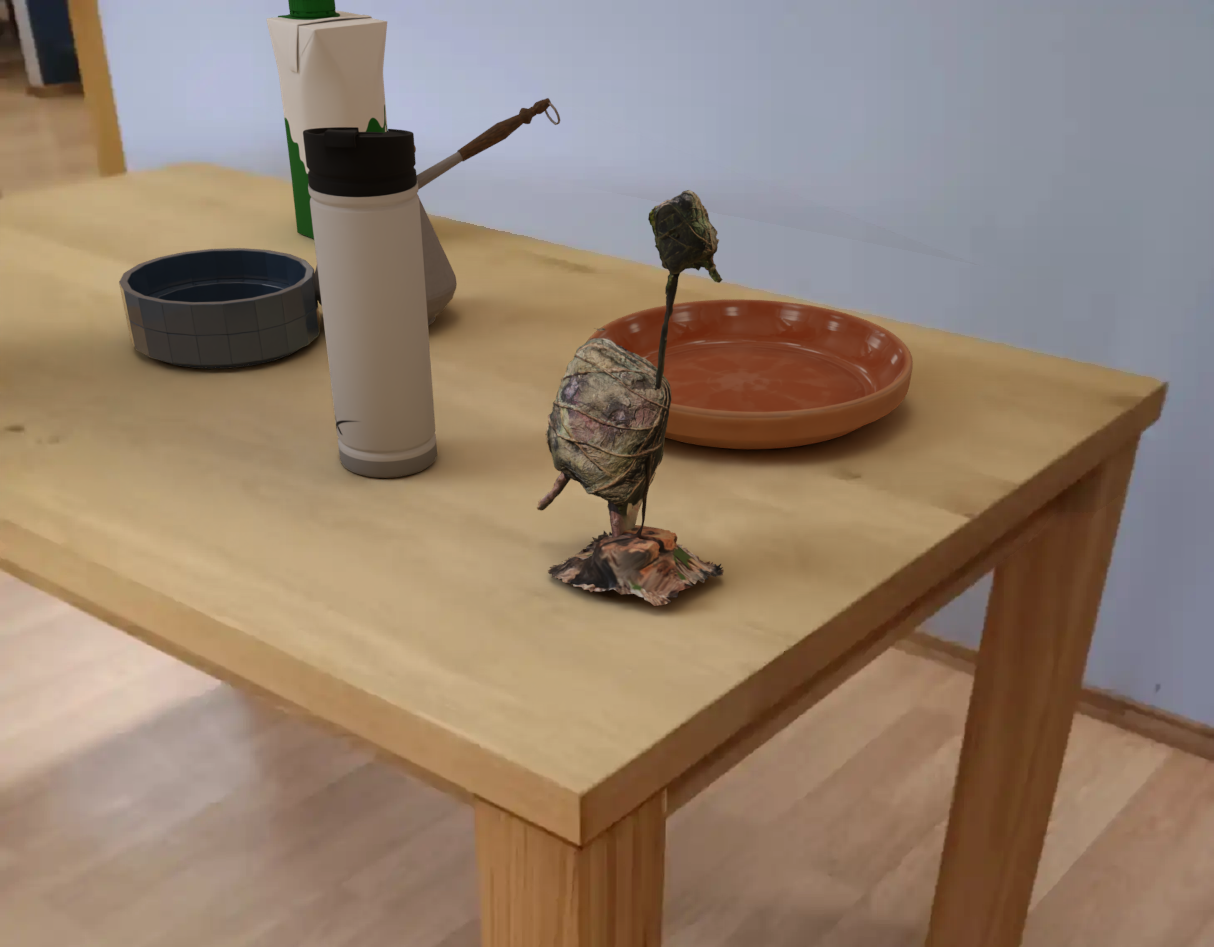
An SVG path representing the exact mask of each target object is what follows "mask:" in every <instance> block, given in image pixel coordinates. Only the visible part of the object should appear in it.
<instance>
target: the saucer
mask: <svg viewBox="0 0 1214 947" xmlns="http://www.w3.org/2000/svg"><path fill="white" fill-rule="evenodd" d="M665 313H666V304H664V305H659V306H655V307H650V308H645V309H642V310H639V311H635V312H632V313H629V314H627V315H623V316H621V317H619V318H618V317H617V318H616V319H614V320H612V321H610V322H607V323H606V324H604V325H602V326H601V327H600V328H599V329H601V328H604V329H605V330H603V331H599V330H597V329H596V330H595V331H594V332H593V333H592V334H591V335H590V336H589V337H588V339H587V340H586V342H588V341H589V339H591V338H593V339H594V338H605V339H609V340H611V341H613V342H614V343H616V345H620V346H622V347H624V348H625V349H626V350H628V351H629V352H633V353H635V354H637V355H639V356H640V357H643V358H645V359H647V360H648V361H649V362H651V363H652V364H653V365H654V366H656V368H658V352H659V344H660V337H661V330H662V325H663V323H664V317H665ZM913 364H914V363H913V356H912V353H911V350H910V349H909V347H908V346H907V344H905V342H903V340H901V338H899V337H898V336H897V334H894V333H893V332H891V331H890V330H888V329H886V328H885V327H883V326H881V325H878V324H877V323H874V322H872V321H870V320H867V319H864V318H861V317H859V316H857V315H852V314H849V313H847V312H842V311H838V310H835V309H830V308H826V307H821V306H815V305H811V304H802V303H797V302H789V301H779V300H767V299H739V298H738V299H737V298H736V299H735V298H734V299H732V298H731V299H729V298H728V299H726V298H725V299H707V300H706V299H705V300H694V301H685V302H677V303H674V304H673V313H672V315H671V317H670V319H669V322H668V334H667V345H666V351H665V364H664V373H663V374H664V377H666V379H667V380H668V382H669V384H670V389H671V398H672V400H671V405H670V408H669V417H668V422H667V429H666V433H665V439H669V440H672V441H676V442H681V443H684V444H689V445H695V446H703V447H709V448H710V447H711V448H718V449H732V450H733V449H734V450H770V449H785V448H786V449H787V448H795V447H802V446H807V445H813V444H818V443H822V442H826V441H829V440H833V439H837V438H840V437H843V436H845V435H847V434H850V433H852V432H854V431H857V430H858V429H860V428H862V427H863V426H866V425H868V424H871V423H875V422H876V421H877V420H880V419H882V418H884V417H886V416H887V415H889V414H890V413H892V412H893V411H894V410H895V409H897V408H898V407H899V406H900V405H901V403H902V402H903V401H904V400H905V399H906V396H908V392H909V389H910V383H911V378H912V372H913Z"/></svg>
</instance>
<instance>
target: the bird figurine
mask: <svg viewBox="0 0 1214 947" xmlns="http://www.w3.org/2000/svg"><path fill="white" fill-rule="evenodd" d="M647 220H648V221H649V225H650V226H651V229H652V233H653V235H654V243H655V246H654V247H655V248H656V250H657V251H658V255H659V259H660V261H661V267H662V268H663V269H665V270H667V271H669V274H668V275H667V282H666V285H665V290H664V292H665V293H664V294H665V305H666V313H665V317H664V323H663V325H662V330H661V337H660V344H659V352H658V368H656V366H654V365H653V364H652V363H651V362H649V361H648V360H647V359H645V358H643V357H640V356H639V355H637V354H635V353H633V352H629V351H628V350H626V349H625V348H624V347H622V346H620V345H616V343H614V342H613V341H611V340H609V339H605V338H594V339H593V338H591V339H589V338H588V339H589V341H588V342H587V341H586V342H585V343H584V344H582V345H581V346H578V348H576V351H575V353H574V355H573V358H572V360H571V361H568V364H567V366H566V370H565V373H564V376H562V377H561V379H560V385H559V387H558V390H557V393H556V397H555V400H554V401H553V402H552V410H551V412H550V413H549V414H547V428H546V431H545V436H546V445H547V446H548V450H549V453H550V454H551V459H552V463H553V467H554V468H555V469H556V470H557V471H558V472H560V474H559V475H558V476H557V478H556V479H555V482H554V483H553V488H551V490H550V491H548V492H547V493H546V494H545V495H543V496H542V498H541V499H540V500H538V501H537V502H538V504H537V506H536V509H537V510H538V511H544V510H546V509H547V508H548V507H549V506H550V505H551V504H552V503H553V502H554V501H555V499H556V498H557V497H558V496H559V495H560V494H561V493H563V491H564V489H565V487H566V486H567V485H568V484H569V482H570V481H571V480H573V481H575V482H577V483H579V484H580V486H582V488H583V489H584V490H585V492H586V494H587V495H593V496H595V497H598V498H601V499H602V500H604V501H607V509H608V515H609V523H610V527H611V531H609V532H608V533H607V532H606V531H605V530H603V533H602V534H599V535H597V538H596V537H593V536H592V537H591V538H592V540H593V541H592V540H591V541H590V543H589V544H587V546H586V548H582V549H581V550H580V552H579V551H578V552H577V553H575V554H573V555H572V556H569V557H567V559H564V561H561V564H552V566H549V569H547V573H548V574H549V575H551V578H554V579H557V580H562V583H566V584H569V585H572V586H573V587H577V588H578V587H579V588H582V589H583V591H589V592H590V593H593V591H594V592H600V593H601V592H606V591H611V590H614V591H616V592H617V593H618V594H620V595H633V594H634V595H635V596H637V597H639V598H643V599H644V601H646V602H648V603H650V604H651V605H653V606H654V607H655V606H663V605H667V604H670V603H672V600H670V599H669V598H678V597H679V592H680V591H684V590H687V589H690V588H691V587H694V585H696V584H697V583H698V581H699V582H701V583H703V584H705V580H709V577H710V578H712V577H714V578H717V577H723V576H724V571H725V570H724V567H723V566H721V565H722V563H720V564H718V565H717V564H716V563H714V561H712V562H711V561H710V560H709V561H704V560H701V559H700V557H699V556H698V555H696V554H694V553H693V552H691V551H690V550H688V547H683V544H678V543H677V541H678V535H677V533H676V532H671V530H668V529H664V528H658V527H653V526H646V525H645V521H646V520H645V519H646V510H647V502H648V501H647V500H648V492H649V488H650V486H651V484H652V483H653V481H654V479H655V476H656V470H657V469H658V467H659V466H660V464H661V463H662V461H663V458H664V446H665V440H666V438H665V433H666V429H667V422H668V417H669V408H670V405H671V400H672V398H671V389H670V384H669V382H668V380H667V379H666V377H664V374H663V373H664V364H665V351H666V345H667V334H668V322H669V319H670V317H671V315H672V313H673V304H675V300H676V296H677V291H678V286H679V277H680V274H681V273H683V272H684V271H685V270H689V269H695V270H696V271H698V272H699V271H700V270H701V268H704V269H705V270H706V271H707V272H708V275H709V277H710V278H711V279H712V280H713V282H714V283H719V284H720V283H721V282H722V281H723V278H722V277H721V275H720V273H719V272H718V270H717V268H716V267H717V265H716V263H715V261H714V255H715V254H716V253H717V252H718V247H719V246H718V244H719V242H720V239H718V238H717V236H718V230H717V229H716V228H715V227H714V225H713V224H712V223H711V221H710V218H709V212H708V211H707V208H705V206H704V205H703V203H702V201H701V198H700V197H699V195H698V194H697V193H695V192H694V191H692V190H691V189H688V190H687V189H686V190H683V191H682V192H681V193H680V194H678V195H676V196H674V197H672V198H671V199H665V200H664V201H662V202H661V203H660V204H658V205H655V206H654V207H653V208H652V209H651V210H650V212H649V213H648V218H647ZM600 328H601V327H600ZM600 328H598V327H597V328H595V327H594V328H593V329H595V330H596V331H597V330H599V331H603V330H605V329H604V328H601V329H600ZM640 510H641V524H640V525H639V524H636V523H637V519H638V515H639V512H640ZM693 584H694V585H693Z"/></svg>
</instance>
